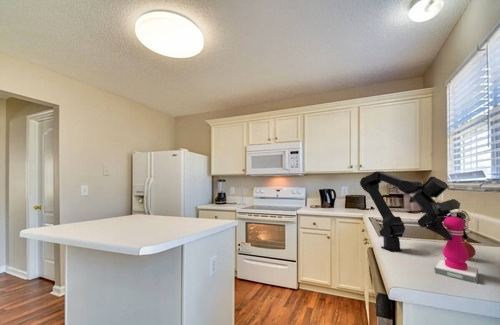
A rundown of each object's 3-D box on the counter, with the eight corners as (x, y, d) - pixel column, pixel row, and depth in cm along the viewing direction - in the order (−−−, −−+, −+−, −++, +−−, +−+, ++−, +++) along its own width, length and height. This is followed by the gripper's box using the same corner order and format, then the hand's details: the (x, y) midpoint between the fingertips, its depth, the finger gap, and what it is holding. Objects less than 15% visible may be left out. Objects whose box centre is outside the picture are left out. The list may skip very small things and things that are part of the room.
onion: (479, 262, 96) (478, 242, 96) (463, 261, 97) (462, 241, 98) (469, 257, 102) (468, 238, 102) (454, 256, 103) (453, 238, 103)
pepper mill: (470, 272, 80) (467, 214, 81) (443, 267, 85) (441, 212, 86) (468, 266, 86) (466, 212, 87) (443, 261, 91) (441, 210, 92)
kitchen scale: (435, 273, 85) (434, 267, 85) (439, 265, 93) (439, 259, 93) (476, 283, 77) (476, 276, 77) (478, 273, 85) (478, 267, 85)
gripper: (424, 192, 88) (458, 228, 77) (459, 191, 93) (496, 225, 82) (405, 210, 95) (434, 245, 84) (439, 208, 100) (470, 241, 89)
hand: (459, 239), depth 84 cm, fingers open, 7 cm apart
